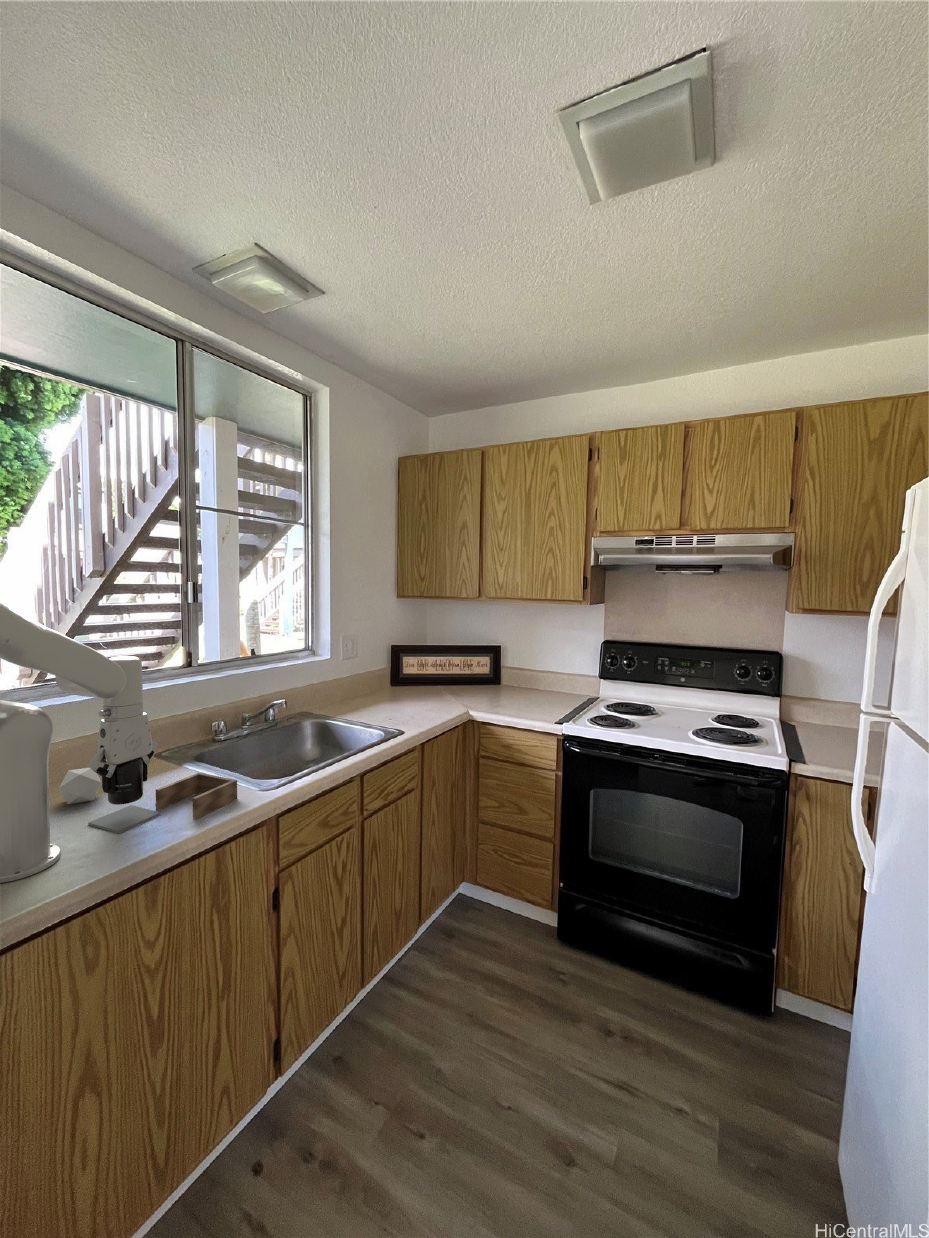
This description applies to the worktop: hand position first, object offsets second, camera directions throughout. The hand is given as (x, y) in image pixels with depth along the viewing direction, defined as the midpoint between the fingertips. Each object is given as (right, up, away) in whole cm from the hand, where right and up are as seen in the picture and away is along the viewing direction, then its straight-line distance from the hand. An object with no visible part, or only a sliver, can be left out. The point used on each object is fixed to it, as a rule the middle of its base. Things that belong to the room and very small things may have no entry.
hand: (125, 785), depth 117 cm
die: (-18, -7, +10) cm, 22 cm away
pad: (0, -8, 0) cm, 8 cm away
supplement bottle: (0, -3, 0) cm, 3 cm away
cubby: (+12, -8, +9) cm, 17 cm away
